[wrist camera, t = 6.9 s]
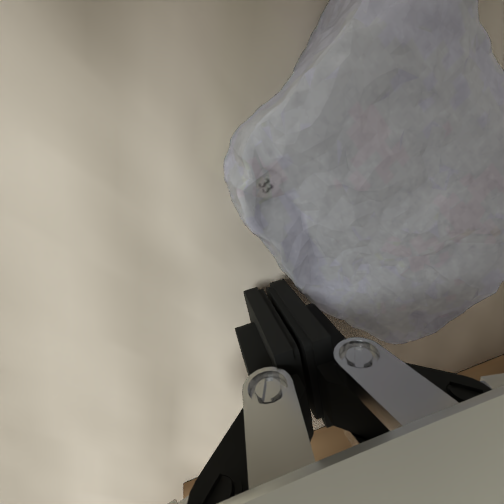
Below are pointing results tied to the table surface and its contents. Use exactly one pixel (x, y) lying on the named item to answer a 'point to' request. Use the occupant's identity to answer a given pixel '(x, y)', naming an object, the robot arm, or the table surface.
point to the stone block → (382, 166)
